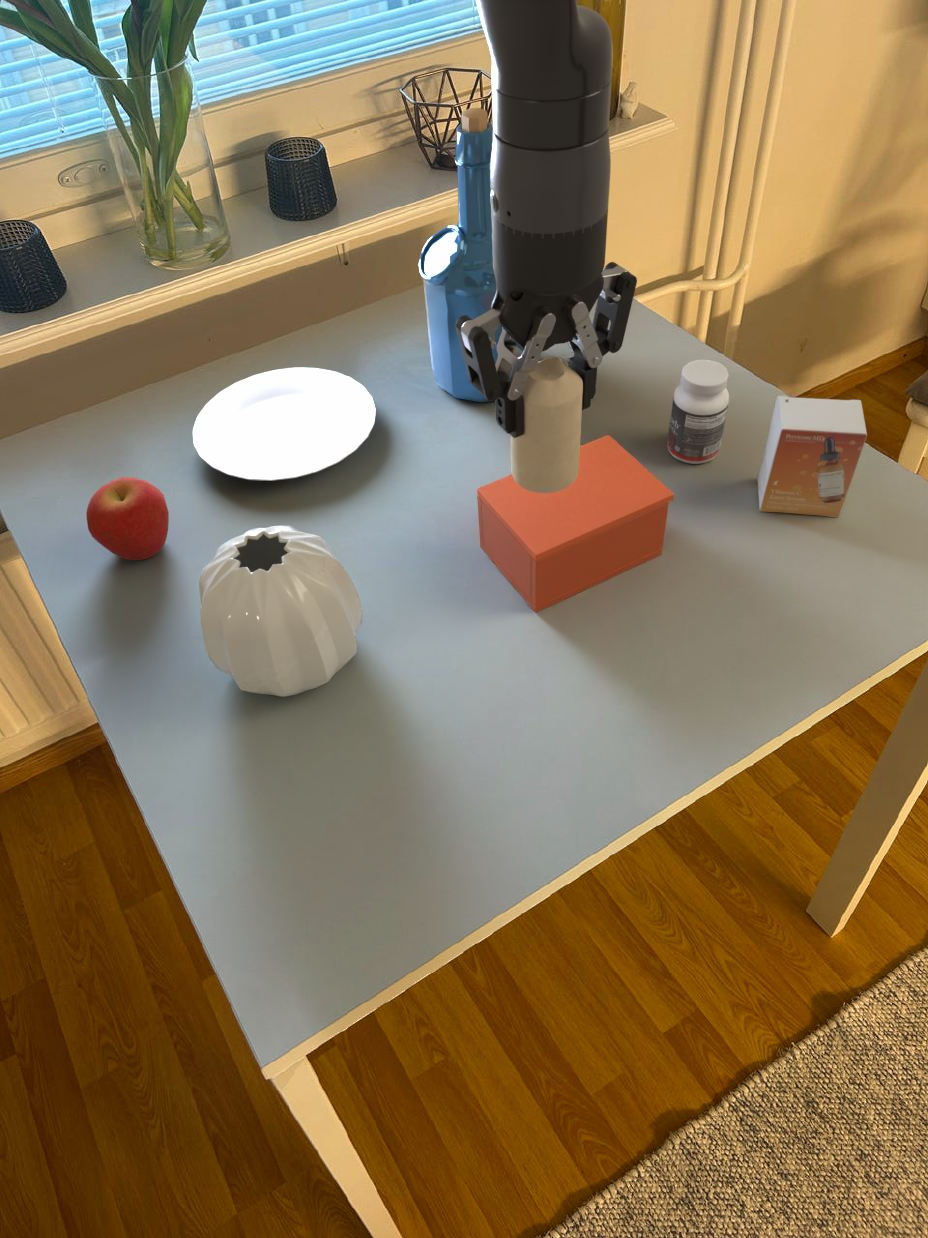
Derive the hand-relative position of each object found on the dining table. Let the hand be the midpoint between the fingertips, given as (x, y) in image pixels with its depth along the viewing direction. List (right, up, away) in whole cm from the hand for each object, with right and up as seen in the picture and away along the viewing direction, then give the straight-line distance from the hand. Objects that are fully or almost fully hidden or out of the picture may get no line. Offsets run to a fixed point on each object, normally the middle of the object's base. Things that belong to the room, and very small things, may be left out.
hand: (546, 416), depth 72 cm
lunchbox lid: (+4, -4, +16) cm, 17 cm away
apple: (-40, -8, +25) cm, 48 cm away
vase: (-22, -19, +14) cm, 32 cm away
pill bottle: (+19, +3, +30) cm, 35 cm away
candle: (0, -4, +4) cm, 6 cm away
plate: (-27, +5, +36) cm, 45 cm away
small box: (+28, -3, +24) cm, 37 cm away
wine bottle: (-4, +14, +42) cm, 44 cm away
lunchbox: (+4, -9, +21) cm, 23 cm away
